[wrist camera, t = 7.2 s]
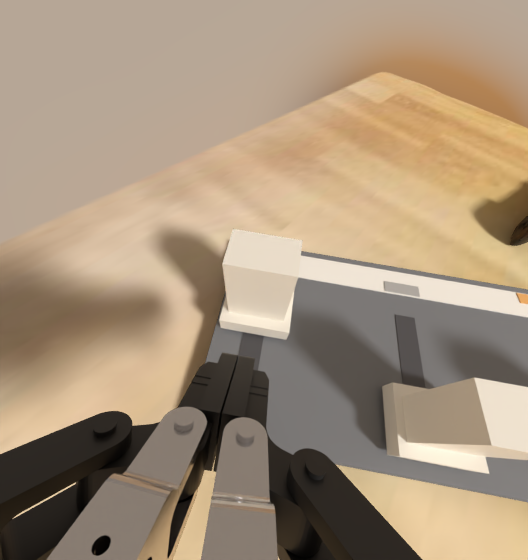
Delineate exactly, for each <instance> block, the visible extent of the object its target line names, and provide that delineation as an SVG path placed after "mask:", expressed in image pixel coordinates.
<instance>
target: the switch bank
mask: <svg viewBox="0 0 528 560" xmlns="http://www.w3.org/2000/svg"><path fill="white" fill-rule="evenodd" d="M225 297H226V291H225V295H224V298H223V302H222V305H221V309H220V312H219V316H218V319H217V323H216V327H215V330H214V334H213V337H212V341H211V344H210V348H209V351H208V355H207V358H206V362H214V363H218V361H219V358H220V356H221V354H222V352H224V353H229V354H235V355H238V358H239V355H241V356H246V357H252V358H255V362H254V368H253V370H258V371H263V372H265V373H266V375H267V377H268V379H269V391H268V407H267V422H266V429H267V433H268V436H269V437H270V439H271V440H272V441H273V443H274V444H276V445H277V446H278V447H279V448H281V449H283V450H285V451H287V452H288V453H290V454H292V455H293V454H294V453H295V452H296V451H298V450H300V449H304V448H310V449H315V450H317V451H320V452H322V453H323V454H325V455H326V456H327V457H328V458H329V459H330V460H331V461H332V462H333V463H334V464H337V465H342V466H347V467H352V468H357V469H362V470H367V471H372V472H377V473H383V474H388V475H393V476H398V477H403V478H408V479H413V480H418V481H423V482H428V483H433V484H438V485H443V486H448V487H453V488H458V489H464V490H469V491H474V492H479V493H484V494H489V495H494V496H499V497H504V498H509V499H514V500H519V501H524V502H528V460H518V459H506V458H494V457H486V462H487V466H488V470H489V474H487V473H480V472H474V471H468V470H462V469H457V468H452V467H447V466H442V465H437V464H432V463H427V462H421V461H416V460H411V459H406V458H401V457H396V456H391V455H387V446H386V432H385V419H384V405H383V392H382V386H384V385H387V384H390V383H392V382H393V383H399V384H404V385H410V386H415V387H420V388H426V389H432V388H436V387H439V386H443V385H447V384H451V383H455V382H459V381H462V380H466V379H470V378H480V379H485V380H491V381H496V382H502V383H507V384H513V385H518V386H524V387H528V290H526V289H520V288H515V287H509V286H503V285H497V284H491V283H485V282H479V281H474V280H468V279H462V278H456V277H450V276H444V275H438V274H432V273H427V272H421V271H415V270H409V269H403V268H397V267H391V266H386V265H380V264H374V263H368V262H362V261H356V260H350V259H344V258H339V257H333V256H327V255H321V254H315V253H309V252H303V251H301V258H300V267H299V276H298V280H297V283H296V286H295V289H294V297H293V306H292V314H291V323H290V331H289V335H288V337H287V339H286V340H284V339H279V338H273V337H268V336H262V335H257V334H251V333H246V332H240V331H235V330H229V329H224V328H221V326H220V322H219V319H220V315H221V312H222V308H223V305H224V301H225ZM206 362H205V363H206Z"/></svg>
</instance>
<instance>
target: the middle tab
mask: <svg viewBox="0 0 528 560" xmlns="http://www.w3.org/2000/svg"><path fill="white" fill-rule="evenodd" d="M382 392H383V405H384V419H385V432H386V446H387V455H391V456H396V457H401V458H406V459H411V460H416V461H421V462H427V463H432V464H437V465H442V466H447V467H452V468H457V469H462V470H468V471H474V472H480V473H487V474H489V470H488V466H487V462H486V457H494V458H506V459H518V460H528V387H524V386H518V385H513V384H507V383H502V382H496V381H491V380H485V379H480V378H470V379H466V380H462V381H459V382H455V383H451V384H447V385H443V386H439V387H436V388H432V389H426V388H420V387H415V386H410V385H404V384H399V383H393V382H392V383H390V384H387V385H384V386H382Z"/></svg>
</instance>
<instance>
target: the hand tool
mask: <svg viewBox="0 0 528 560" xmlns="http://www.w3.org/2000/svg"><path fill="white" fill-rule="evenodd" d="M520 239H521V240H520ZM527 242H528V216H527V217H526V218H525V219H524V220H523V221H522V222H521V223H520V224H519V225H518V226H517V227H516V229H515V231H514V233H513V235H512V238H511V242H510V244H511V245H516V246H517V245H521V244H524V243H527Z"/></svg>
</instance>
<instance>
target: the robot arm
mask: <svg viewBox="0 0 528 560" xmlns="http://www.w3.org/2000/svg"><path fill="white" fill-rule="evenodd" d="M254 362H255V358H252V357H246V356H241V355H239V358H238V355H235V354H229V353H224V352H222V354H221V356H220V358H219V361H218V363H214V362H206V363H205V364H204V365H202V366H201V367H200V368H199V369H198V371H197V373H196V375H195V377H194V379H193V381H192V383H191V384H190V386H189V388H188V390H187V392H186V393H185V395H184V397H183V399H182V401H181V403H180V404H179V406H178V408H176V409H174V410H172V411H170V412H168V413H167V414H166V415H165V416H164V417H163V419H162V420H161V422H159V423H155V424H149V425H137V426H132V420H131V418H130V417H129V416H128V415H127V414H125V413H123V412H119V411H109V412H104V413H100V414H98V415H95V416H93V417H90V418H88V419H85V420H83V421H80V422H78V423H75V424H73V425H71V426H68V427H66V428H63V429H61V430H58V431H56V432H54V433H51V434H49V435H46V436H44V437H41V438H39V439H36V440H34V441H32V442H29V443H27V444H24V445H22V446H19V447H17V448H15V449H12V450H10V451H7V452H5V453H2V454H0V560H173V557H174V554H175V552H176V549H177V546H178V544H179V541H180V538H181V536H182V533H183V530H184V528H185V525H186V522H187V520H188V517H189V514H190V512H191V509H192V507H193V504H194V501H195V499H196V496H197V492H198V487H199V485H200V482H201V479H202V476H203V473H204V470H209V471H212V467H213V463H214V460H215V464H214V471H215V472H216V477H215V483H214V489H213V495H212V499H211V505H210V510H209V516H208V522H207V528H206V534H205V539H204V545H203V551H202V557H201V560H278V557H279V559H280V560H422V559H421V558H420V557H419V556H418V554H417V553H416V552H415V551H414V550H413V549H412V548H411V547H410V546H409V545H408V544H407V542H406V541H405V540H404V539H403V538H402V537H401V536H400V535H399V534H398V533H397V532H396V530H395V529H394V528H393V527H392V526H391V525H390V524H389V523H388V522H387V521H386V520H385V518H384V517H383V516H382V515H381V514H380V513H379V512H378V511H377V510H376V509H375V508H374V506H373V505H372V504H371V503H370V502H369V501H368V500H367V499H366V498H365V497H364V496H363V494H362V493H361V492H360V491H359V490H358V489H357V488H356V487H355V486H354V485H353V483H352V482H351V481H350V480H349V479H348V478H347V477H346V476H345V475H344V474H343V473H342V471H341V470H340V469H339V468H338V467H337V466H336V465H335V464H334V463H333V462H332V461H331V460H330V459H329V458H328V457H327V456H326V455H325V454H323V453H322V452H320V451H317V450H315V449H310V448H304V449H300V450H298V451H296V452H295V453H294V454H293V455H292V454H290V453H288V452H287V451H285V450H283V449H281V448H279V447H278V446H277V445H276V444H274V443H273V441H272V440H271V439H270V437H269V436H268V433H267V429H266V422H267V407H268V391H269V379H268V377H267V375H266V373H265V372H263V371H258V370H253V368H254ZM215 456H216V458H215ZM75 482H76V484H75V485H73V486H72V487H70V488H68V489H66V490H64V491H63V492H61V493H59V494H57V495H56V496H54V497H52V498H50V499H48V500H47V501H45V502H43V503H41V504H39V505H38V506H36V507H34V508H32V509H30V510H29V511H27V512H25V513H23V514H21V515H20V516H18V517H16V518H14V517H15V516H16V515H18V514H19V513H21V512H22V511H24V510H26V509H28V508H30V507H31V506H33V505H35V504H37V503H39V502H40V501H42V500H44V499H46V498H48V497H49V496H51V495H53V494H55V493H57V492H59V491H60V490H62V489H64V488H66V487H68V486H69V485H71V484H73V483H75ZM12 518H14V519H12Z"/></svg>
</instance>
